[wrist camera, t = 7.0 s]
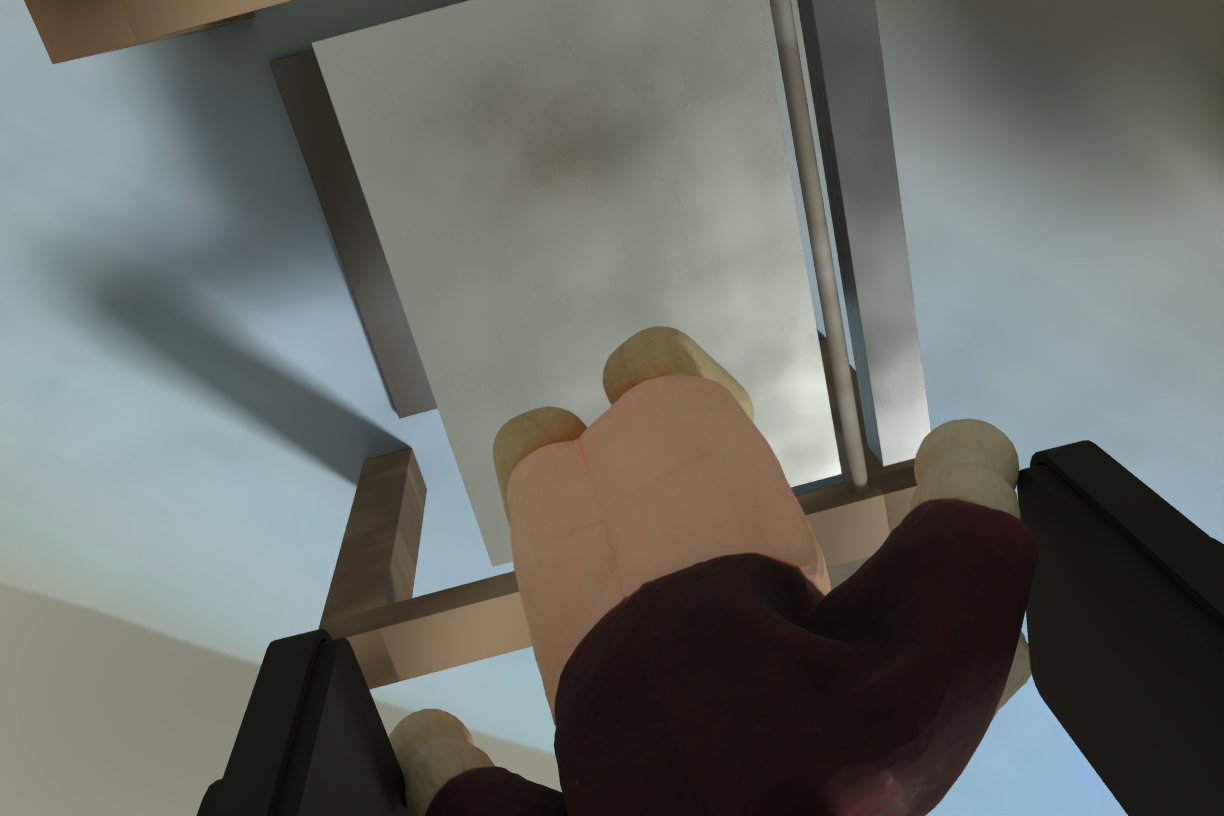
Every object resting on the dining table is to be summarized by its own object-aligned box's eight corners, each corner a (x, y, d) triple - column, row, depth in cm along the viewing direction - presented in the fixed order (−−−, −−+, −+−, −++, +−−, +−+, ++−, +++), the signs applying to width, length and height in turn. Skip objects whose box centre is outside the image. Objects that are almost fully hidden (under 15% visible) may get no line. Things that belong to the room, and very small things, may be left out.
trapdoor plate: (842, -102, 25) (861, -105, 24) (915, 433, 31) (933, 452, 30) (319, 39, 25) (310, 43, 24) (493, 545, 31) (492, 570, 30)
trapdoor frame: (738, -182, 34) (858, -256, 23) (833, 381, 43) (955, 533, 31) (174, -30, 35) (11, -28, 23) (380, 501, 43) (337, 697, 32)
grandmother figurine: (557, 639, 18) (637, 1839, 6) (392, 505, 17) (120, 1704, 5) (901, 347, 17) (1823, 1245, 5) (747, 173, 15) (1505, 830, 4)
